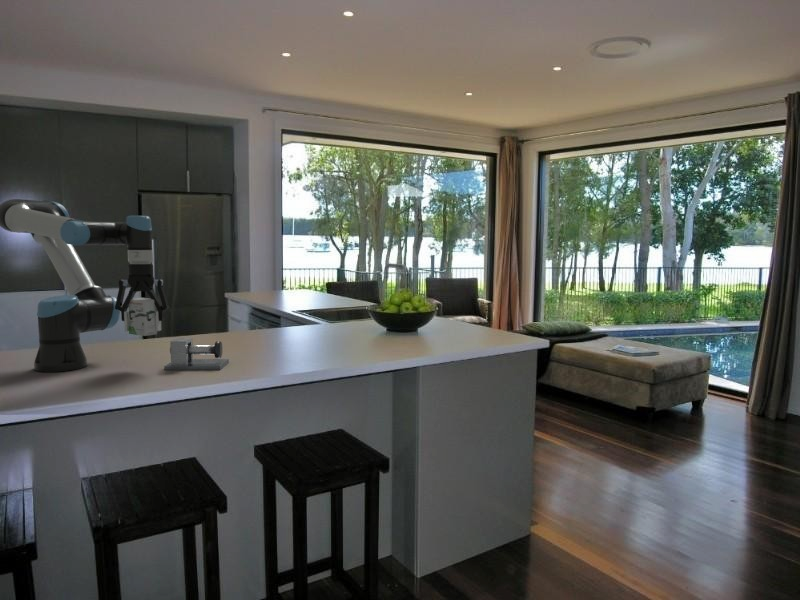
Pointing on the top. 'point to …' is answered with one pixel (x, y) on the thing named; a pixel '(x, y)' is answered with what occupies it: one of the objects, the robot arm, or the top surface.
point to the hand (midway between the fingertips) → (143, 330)
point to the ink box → (142, 316)
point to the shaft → (206, 349)
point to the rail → (200, 365)
